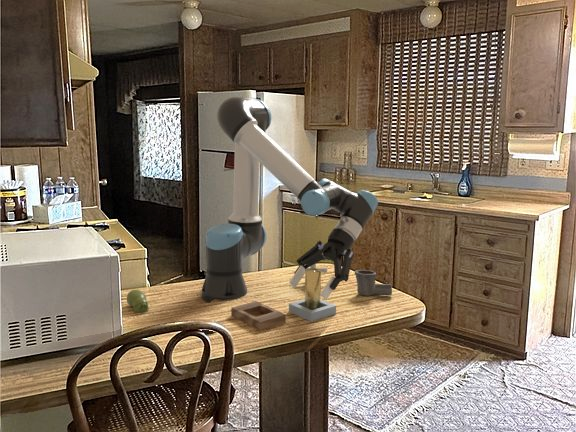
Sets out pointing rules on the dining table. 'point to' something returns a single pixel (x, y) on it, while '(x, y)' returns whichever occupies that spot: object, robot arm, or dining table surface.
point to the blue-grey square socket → (312, 315)
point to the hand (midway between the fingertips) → (307, 291)
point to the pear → (137, 301)
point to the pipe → (370, 284)
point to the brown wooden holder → (258, 315)
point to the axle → (312, 288)
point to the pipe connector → (323, 270)
